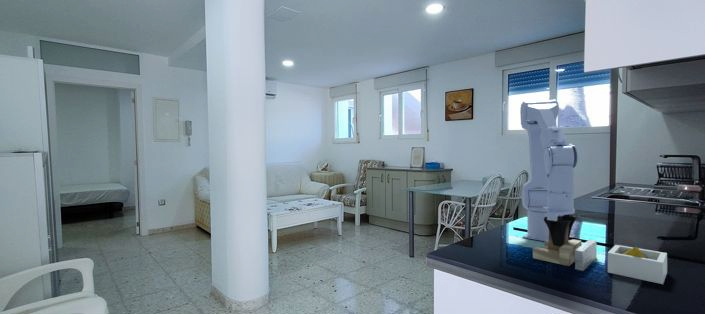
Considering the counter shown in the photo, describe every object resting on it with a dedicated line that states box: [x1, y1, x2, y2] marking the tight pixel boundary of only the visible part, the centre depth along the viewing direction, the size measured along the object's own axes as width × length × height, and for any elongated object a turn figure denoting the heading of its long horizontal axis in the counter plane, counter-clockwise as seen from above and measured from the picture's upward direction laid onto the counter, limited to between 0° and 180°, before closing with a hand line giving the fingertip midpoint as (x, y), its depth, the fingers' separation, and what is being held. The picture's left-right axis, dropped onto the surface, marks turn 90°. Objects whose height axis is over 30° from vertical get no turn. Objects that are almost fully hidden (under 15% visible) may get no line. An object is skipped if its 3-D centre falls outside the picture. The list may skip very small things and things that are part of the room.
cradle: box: [532, 238, 582, 267], centre depth 82 cm, size 11×8×4 cm
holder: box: [607, 244, 668, 285], centre depth 71 cm, size 9×9×4 cm
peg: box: [548, 226, 569, 251], centre depth 82 cm, size 4×4×9 cm
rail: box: [574, 239, 598, 272], centre depth 77 cm, size 13×2×4 cm, turn 131°
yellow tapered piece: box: [620, 246, 649, 259], centre depth 71 cm, size 5×5×10 cm
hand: (560, 244), depth 82 cm, fingers closed on peg, 3 cm apart
